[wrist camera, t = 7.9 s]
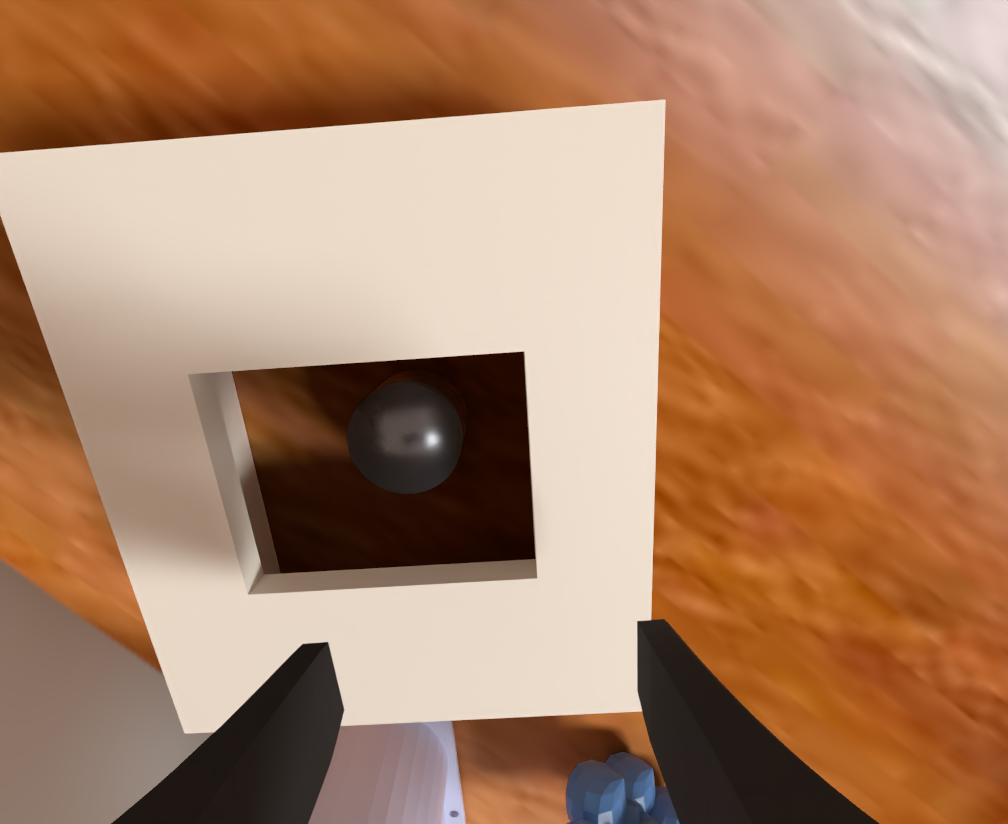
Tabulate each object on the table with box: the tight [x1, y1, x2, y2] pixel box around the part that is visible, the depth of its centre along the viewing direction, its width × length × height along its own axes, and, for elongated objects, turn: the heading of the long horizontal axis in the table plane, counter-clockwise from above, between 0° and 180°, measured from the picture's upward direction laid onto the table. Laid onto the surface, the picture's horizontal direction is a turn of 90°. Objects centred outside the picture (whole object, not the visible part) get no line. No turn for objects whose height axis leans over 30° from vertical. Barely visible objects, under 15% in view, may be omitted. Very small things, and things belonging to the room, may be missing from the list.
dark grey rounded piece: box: [347, 369, 468, 494], centre depth 18 cm, size 4×4×3 cm
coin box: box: [0, 100, 665, 734], centre depth 16 cm, size 18×16×6 cm
